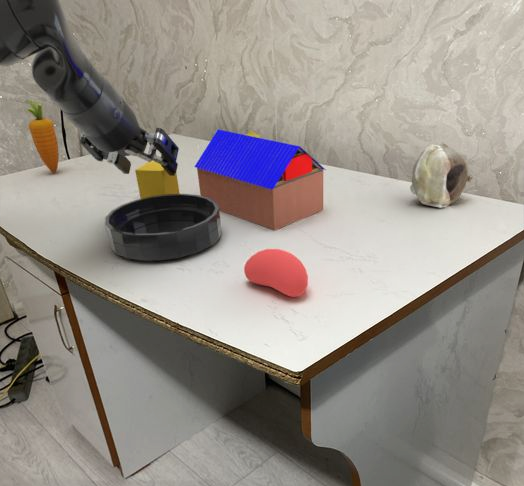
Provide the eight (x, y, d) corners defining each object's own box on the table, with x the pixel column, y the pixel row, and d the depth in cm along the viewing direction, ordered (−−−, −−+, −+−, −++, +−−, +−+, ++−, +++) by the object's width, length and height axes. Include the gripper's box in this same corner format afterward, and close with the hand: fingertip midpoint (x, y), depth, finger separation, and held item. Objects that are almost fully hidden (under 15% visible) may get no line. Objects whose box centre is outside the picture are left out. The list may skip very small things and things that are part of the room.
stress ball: (284, 278, 74) (259, 241, 71) (325, 277, 66) (298, 236, 64) (259, 303, 72) (233, 266, 70) (298, 304, 65) (270, 263, 62)
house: (248, 186, 103) (243, 122, 97) (326, 209, 91) (326, 137, 84) (199, 203, 97) (190, 136, 90) (274, 231, 84) (270, 155, 78)
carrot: (66, 174, 119) (47, 100, 110) (43, 177, 117) (21, 103, 109) (64, 168, 123) (45, 97, 114) (42, 172, 121) (21, 100, 113)
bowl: (110, 271, 76) (103, 242, 73) (112, 228, 90) (106, 202, 87) (229, 254, 78) (226, 224, 76) (213, 214, 92) (210, 188, 90)
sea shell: (412, 219, 91) (396, 165, 86) (423, 195, 96) (409, 142, 91) (470, 209, 86) (457, 150, 80) (478, 184, 91) (466, 127, 86)
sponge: (169, 217, 92) (161, 170, 88) (143, 216, 94) (134, 169, 89) (181, 207, 96) (174, 162, 92) (157, 206, 98) (149, 161, 93)
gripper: (149, 86, 73) (193, 150, 88) (60, 86, 77) (118, 148, 92) (138, 136, 72) (185, 192, 87) (48, 134, 76) (108, 188, 91)
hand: (150, 169), depth 90 cm, fingers open, 8 cm apart
